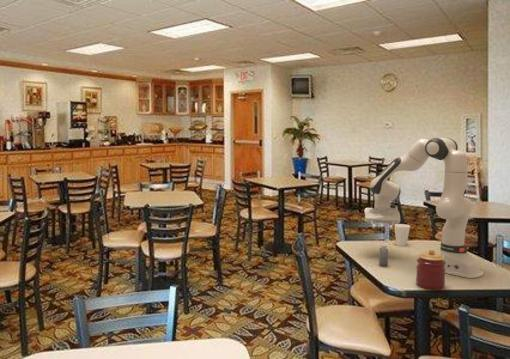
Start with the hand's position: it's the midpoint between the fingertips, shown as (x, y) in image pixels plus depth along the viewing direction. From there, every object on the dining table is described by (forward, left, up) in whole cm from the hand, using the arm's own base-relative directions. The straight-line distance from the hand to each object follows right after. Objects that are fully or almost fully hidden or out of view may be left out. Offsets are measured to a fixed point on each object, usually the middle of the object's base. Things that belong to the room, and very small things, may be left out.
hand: (382, 228), depth 252 cm
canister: (-43, +17, -18) cm, 49 cm away
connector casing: (-9, +9, -18) cm, 22 cm away
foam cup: (+13, -37, -18) cm, 43 cm away
